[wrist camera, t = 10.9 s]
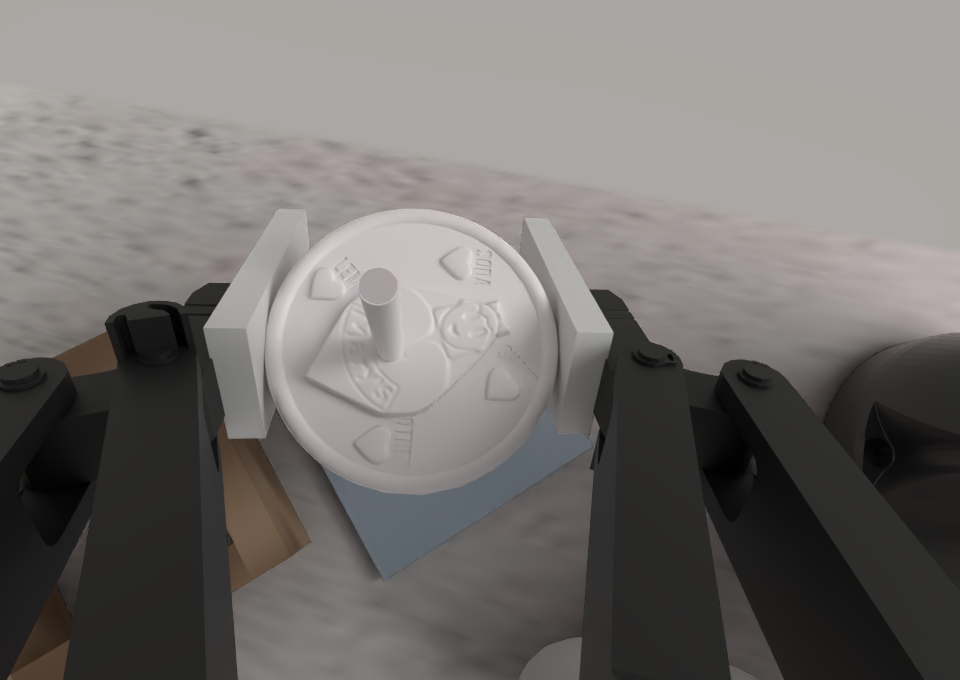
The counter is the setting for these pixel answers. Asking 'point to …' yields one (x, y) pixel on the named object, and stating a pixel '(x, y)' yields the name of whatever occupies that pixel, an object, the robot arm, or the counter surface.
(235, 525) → the collar
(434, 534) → the coaster
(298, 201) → the counter surface
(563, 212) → the counter surface
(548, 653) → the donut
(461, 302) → the smoothie
